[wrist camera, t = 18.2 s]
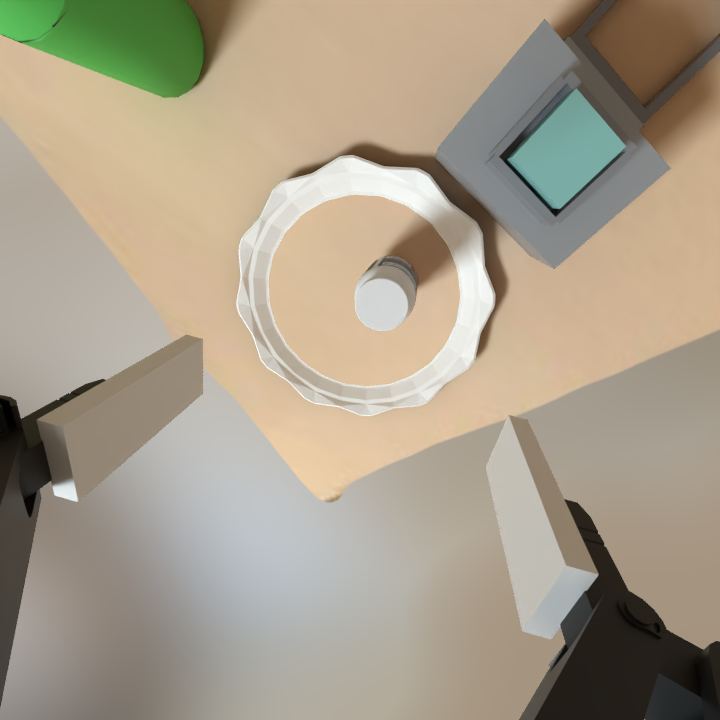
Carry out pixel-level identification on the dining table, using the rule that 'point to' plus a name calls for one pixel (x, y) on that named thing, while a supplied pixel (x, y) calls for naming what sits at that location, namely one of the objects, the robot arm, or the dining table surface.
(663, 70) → the dining table surface
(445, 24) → the dining table surface
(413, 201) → the plate
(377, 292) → the pill bottle
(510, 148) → the housing
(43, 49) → the bottle
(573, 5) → the dining table surface
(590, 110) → the teal square block
